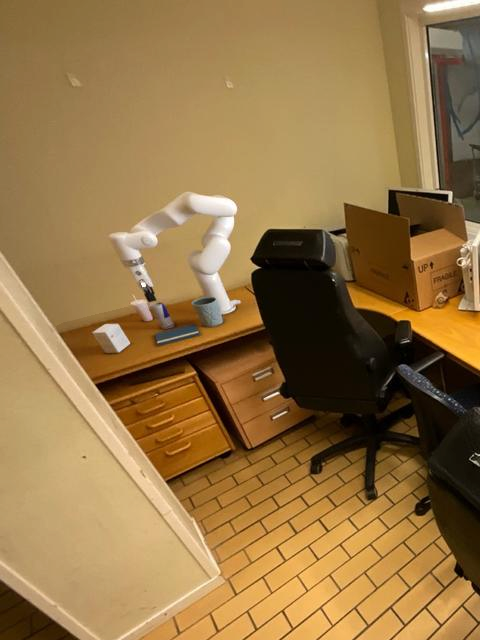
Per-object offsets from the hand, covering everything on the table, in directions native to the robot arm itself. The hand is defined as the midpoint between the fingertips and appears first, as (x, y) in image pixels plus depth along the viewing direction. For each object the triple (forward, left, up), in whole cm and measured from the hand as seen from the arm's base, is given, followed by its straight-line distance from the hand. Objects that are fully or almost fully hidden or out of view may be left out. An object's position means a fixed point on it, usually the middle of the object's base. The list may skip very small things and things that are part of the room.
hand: (151, 297), depth 183 cm
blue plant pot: (-18, +9, -16) cm, 26 cm away
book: (-3, +13, -16) cm, 20 cm away
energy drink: (0, 0, -16) cm, 16 cm away
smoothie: (+7, -15, -16) cm, 23 cm away
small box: (+19, +11, -16) cm, 27 cm away
